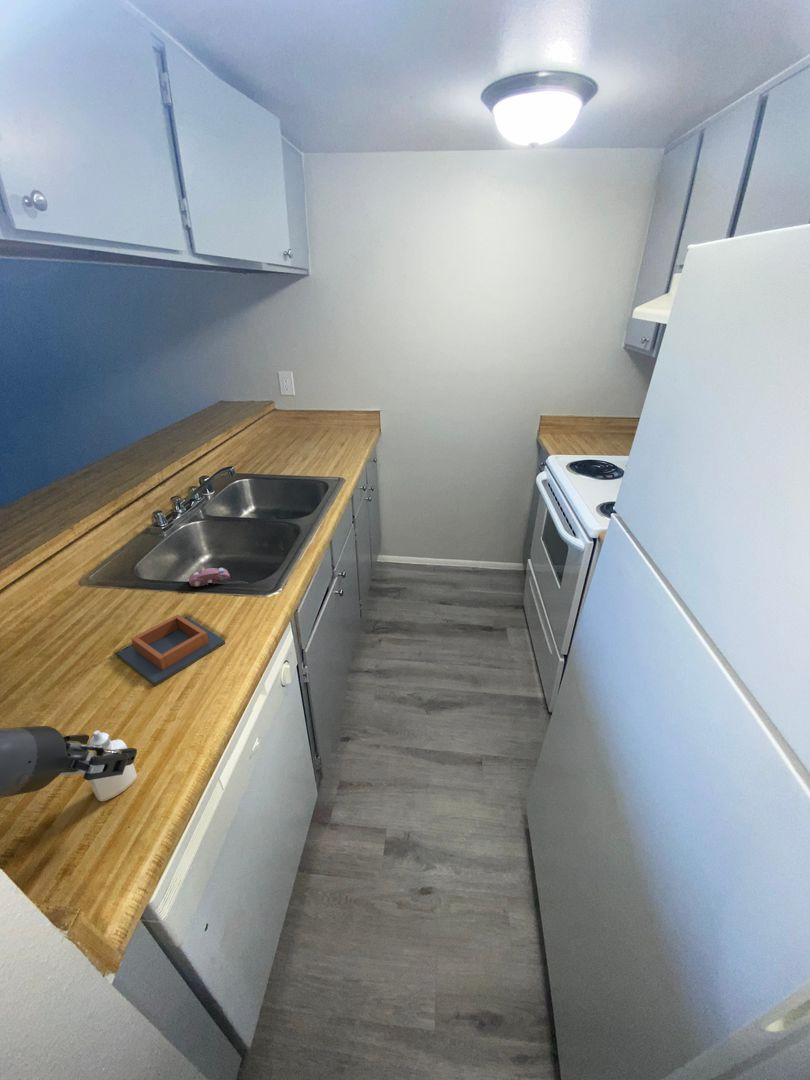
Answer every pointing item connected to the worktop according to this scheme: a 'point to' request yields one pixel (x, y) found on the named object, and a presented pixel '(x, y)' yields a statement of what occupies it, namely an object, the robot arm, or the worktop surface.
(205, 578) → the pink toy car
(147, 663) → the socket pad
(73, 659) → the worktop surface
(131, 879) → the worktop surface
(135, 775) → the eye dropper bottle
